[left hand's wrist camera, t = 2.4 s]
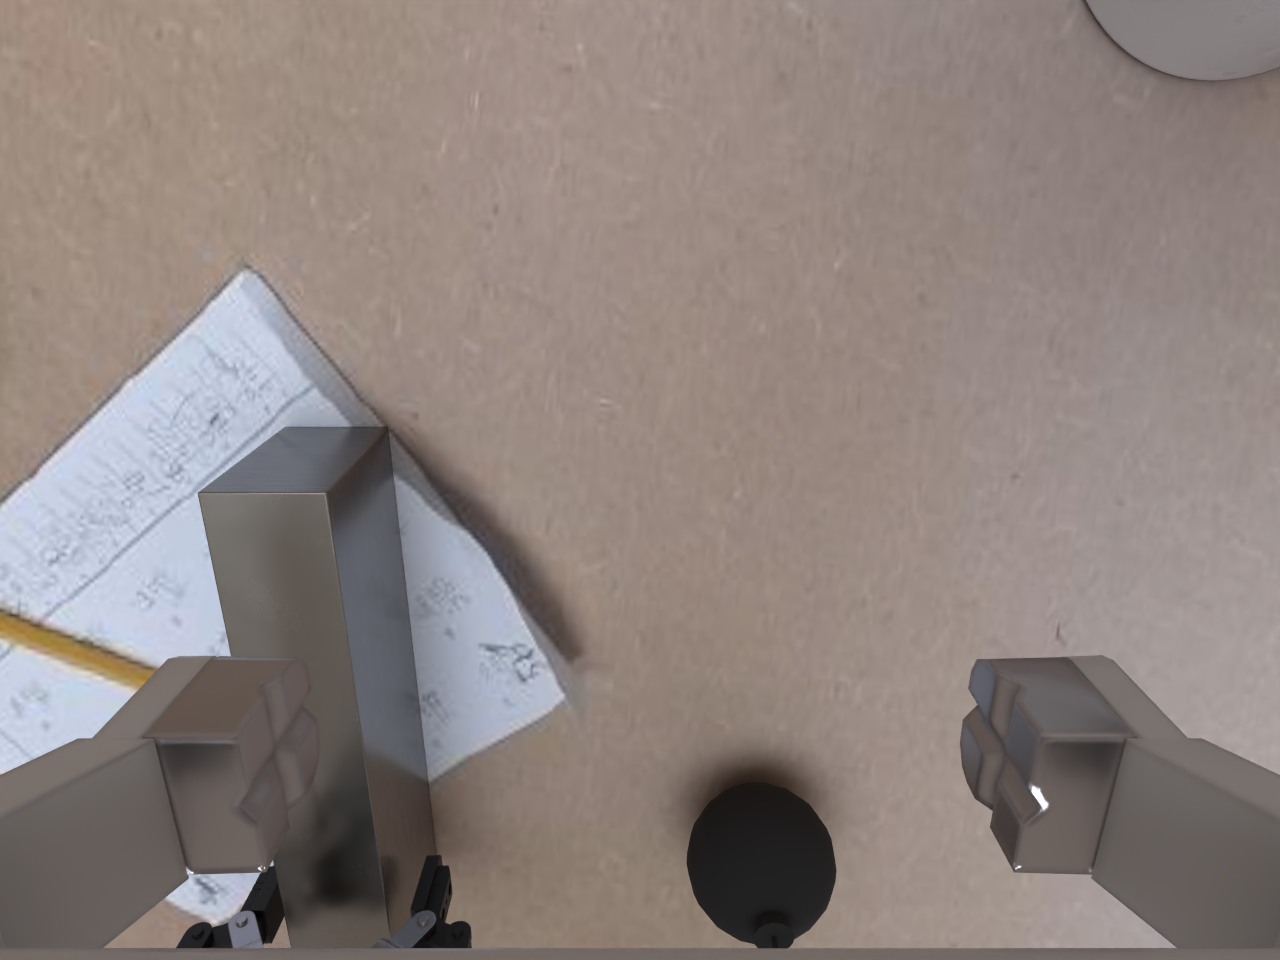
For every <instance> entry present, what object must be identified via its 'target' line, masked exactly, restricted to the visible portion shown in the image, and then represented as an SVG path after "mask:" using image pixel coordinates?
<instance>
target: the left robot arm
mask: <svg viewBox="0 0 1280 960" xmlns="http://www.w3.org/2000/svg"><path fill="white" fill-rule="evenodd" d="M1086 2H1087V4H1088V6H1089V8H1090V9H1091V11H1092V13H1093V14H1094V16H1095V17H1096V19H1097V20H1098V22H1099V23H1100V24H1101V26H1102V27H1103V29H1104V30H1105V31H1106V32H1107V33H1108V34H1109V36H1110V37H1111V38H1112V39H1113V40H1114V41H1115V42H1116V43H1117V44H1118V45H1119V46H1121V47H1122V48H1123V49H1124V50H1125V51H1126V52H1128V53H1129V54H1130V55H1132V56H1133V57H1135V58H1136V59H1138V60H1139V61H1141V62H1143V63H1144V64H1146V65H1148V66H1150V67H1152V68H1154V69H1157V70H1159V71H1162V72H1164V73H1168V74H1171V75H1174V76H1178V77H1183V78H1188V79H1195V80H1211V81H1214V80H1230V79H1238V78H1243V77H1248V76H1253V75H1256V74H1260V73H1264V72H1267V71H1270V70H1273V69H1275V68H1278V67H1280V0H1086ZM311 689H312V687H311V682H310V677H309V672H308V668H307V665H306V664H305V663H304V662H303V661H302V660H301V659H300V658H281V657H232V656H220V657H216V656H178V657H174V658H170V659H168V660H167V661H166V662H165V663H164V664H163V665H162V666H161V667H160V668H159V669H158V670H157V671H156V672H155V673H154V674H153V675H152V676H151V677H150V678H149V679H148V680H147V682H146V683H145V684H144V685H143V686H142V687H141V688H140V689H139V690H138V691H137V692H136V693H135V694H134V695H133V696H132V697H131V698H130V699H129V700H128V701H127V702H126V703H125V705H124V706H123V707H122V708H121V709H120V710H119V711H118V712H117V713H116V714H115V715H114V716H113V717H112V718H111V719H110V720H109V721H108V722H107V723H106V724H105V725H104V726H103V727H102V729H101V730H100V731H99V732H98V733H97V734H96V735H95V736H94V737H93V738H89V739H76V740H74V741H72V742H70V743H68V744H65V745H63V746H61V747H59V748H57V749H55V750H53V751H51V752H48V753H46V754H44V755H42V756H40V757H38V758H36V759H33V760H31V761H29V762H27V763H25V764H23V765H21V766H19V767H16V768H14V769H12V770H10V771H8V772H6V773H4V774H2V775H0V960H1280V775H1278V774H1276V773H1274V772H1272V771H1270V770H1268V769H1266V768H1263V767H1261V766H1259V765H1257V764H1255V763H1253V762H1251V761H1249V760H1246V759H1244V758H1242V757H1240V756H1238V755H1236V754H1234V753H1232V752H1229V751H1227V750H1225V749H1223V748H1221V747H1219V746H1217V745H1215V744H1212V743H1210V742H1208V741H1206V740H1204V739H1191V738H1187V737H1186V736H1185V735H1184V734H1183V733H1182V732H1181V731H1180V729H1179V728H1178V727H1177V726H1176V725H1175V724H1174V723H1173V722H1172V721H1171V720H1170V719H1169V718H1168V717H1167V716H1166V715H1165V714H1164V713H1163V712H1162V711H1161V710H1160V709H1159V708H1158V706H1157V705H1156V704H1155V703H1154V702H1153V701H1152V700H1151V699H1150V698H1149V697H1148V696H1147V695H1146V694H1145V693H1144V692H1143V691H1142V690H1141V689H1140V688H1139V687H1138V686H1137V685H1136V683H1135V682H1134V681H1133V680H1132V679H1131V678H1130V677H1129V676H1128V675H1127V674H1126V673H1125V672H1124V671H1123V670H1122V669H1121V668H1120V667H1119V666H1118V665H1117V664H1116V663H1115V662H1114V660H1112V659H1109V658H1107V657H1105V656H1102V655H1100V656H1072V657H1054V658H1010V659H977V660H976V662H975V664H974V666H973V668H972V671H971V676H970V681H969V687H968V689H969V691H970V692H971V694H972V696H973V697H974V699H975V701H976V702H977V704H978V705H977V706H976V707H975V708H974V709H973V710H972V711H971V712H970V713H969V714H968V715H967V716H966V717H965V718H964V719H963V723H962V731H961V739H960V749H961V760H962V767H963V771H964V774H965V777H966V781H967V784H968V786H969V788H970V790H971V792H972V794H973V795H974V797H975V799H976V800H978V801H979V802H981V803H982V804H984V805H985V806H987V807H988V808H989V809H991V810H992V811H993V813H992V819H991V825H990V828H991V830H992V832H993V834H994V836H995V837H996V839H997V841H998V843H999V845H1000V847H1001V849H1002V851H1003V852H1004V854H1005V856H1006V858H1007V860H1008V862H1009V864H1010V865H1011V867H1012V869H1013V871H1014V872H1019V873H1055V874H1091V875H1092V877H1091V878H1092V879H1093V880H1094V881H1095V882H1097V883H1098V884H1099V885H1100V886H1102V887H1103V888H1104V889H1105V890H1107V891H1108V892H1109V893H1110V894H1111V895H1113V896H1114V897H1115V898H1116V899H1118V900H1119V901H1120V902H1121V903H1123V904H1124V905H1125V906H1126V907H1127V908H1129V909H1130V910H1131V911H1132V912H1134V913H1135V914H1136V915H1137V916H1139V917H1140V918H1141V919H1142V920H1144V921H1145V922H1146V923H1147V924H1148V925H1150V926H1151V927H1152V928H1153V929H1155V930H1156V931H1157V932H1158V933H1160V934H1161V935H1162V936H1163V937H1164V938H1166V939H1167V940H1168V941H1169V942H1171V943H1172V944H1173V945H1174V946H1176V947H1177V948H103V947H105V946H106V945H107V944H108V943H110V942H111V941H112V940H113V939H115V938H116V937H117V936H118V935H119V934H121V933H122V932H123V931H124V930H126V929H127V928H128V927H129V926H131V925H132V924H133V923H134V922H136V921H137V920H138V919H139V918H140V917H142V916H143V915H144V914H145V913H147V912H148V911H149V910H150V909H152V908H153V907H154V906H155V905H157V904H158V903H159V902H160V901H161V900H163V899H164V898H165V897H166V896H168V895H169V894H170V893H171V892H173V891H174V890H175V889H176V888H178V887H179V886H180V885H181V884H182V883H184V882H185V881H186V880H187V879H188V875H189V874H224V873H259V872H266V871H267V869H268V868H269V866H270V864H271V862H272V860H273V858H274V856H275V854H276V852H277V851H278V849H279V847H280V845H281V843H282V841H283V839H284V837H285V836H286V834H287V832H288V830H289V828H290V825H289V819H288V813H287V811H288V810H289V809H291V808H292V807H294V806H295V805H296V804H298V803H299V802H301V801H302V800H304V799H305V797H306V795H307V793H308V791H309V789H310V787H311V785H312V783H313V781H314V778H315V773H316V769H317V765H318V760H319V747H320V736H319V729H318V723H317V719H316V718H315V717H314V716H313V715H312V714H311V713H310V712H309V711H308V710H307V709H306V708H305V707H304V706H303V705H302V704H303V702H304V701H305V699H306V697H307V696H308V694H309V692H310V691H311Z"/></svg>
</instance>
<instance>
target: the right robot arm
mask: <svg viewBox="0 0 1280 960" xmlns="http://www.w3.org/2000/svg"><path fill="white" fill-rule="evenodd" d="M451 897H452V885H451V876H450V870H449V866H442V858H441V855H427V856H426V859H425V862H424V866H423V869H422V872H421V875H420V879H419V882H418V885H417V889H416V892H415V895H414V899H413V902H412V905H411V908H410V912H411V919H410V920H409V921H408V922H407V923H406V924H405V925H404V926H403V927H401V928H400V929H399V930H398V931H397V932H396V933H395V934H394V935H393V936H392V937H391V938H390V939H388V940H386V939H384V938H382V939H380V940H378V941H377V942H376V943H375V944H374V945H373V946H372V947H371V948H472V946H471V938H472V936H471V927H470V925H469V924H468V923H466V922H464V921H457V922H454V923H452V924H451V925H450V924H447V923H445V921H446V917H447V913H448V908H449V905H450V901H451ZM284 916H285V915H284V910H283V905H282V900H281V896H280V891H279V886H278V881H277V876H276V871H275V866H269V868H268V869H267V871H266V872H262V873H261V874H260V875H259V877H258V879H257V881H256V884H255V885H254V886H253V888H252V890H251V892H250V894H249V896H248V898H247V900H246V902H245V903H244V905H243V907H242V909H241V911H240V912H239V913H237V914H236V915H234V916H233V917H232V918H231V919H230V921H229V922H228V923H226V924H223V925H220V926H216V927H213V928H212V926H211V925H210V924H209V923H207V922H201V923H197V924H195V925H193V926H191V927H190V928H189V929H188V930H187V931H186V932H185V934H184V936H183V937H182V939H181V941H180V942H179V944H178V946H177V947H176V948H264V947H263V944H264V943H272V941H273V939H274V937H275V935H276V933H277V931H278V929H279V926H280V924H281V922H282V920H283V918H284Z"/></svg>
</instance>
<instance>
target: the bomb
mask: <svg viewBox="0 0 1280 960" xmlns="http://www.w3.org/2000/svg"><path fill="white" fill-rule="evenodd" d="M687 867H688V873H689V877H690V881H691V885H692V889H693V893H694V895H695V897H696V899H697V902H698V904H699V905H700V906H701V908H702V909H703V910H704V911H705V913H706V914H707V915H708V916H709V918H710V919H711V920H712V921H713V922H714V924H715V925H716V926H717V927H718V928H720V929H721V930H723V931H725V932H726V933H728V934H730V935H731V936H733V937H735V938H736V939H738V940H740V941H743V942H748V943H752V944H755V945H756V946H757V948H789V947H790V946H791V945H792V943H793V941H794V939H796V938H797V937H799V936H800V935H802V934H804V933H805V932H807V931H808V930H810V929H811V927H812V926H813V925H814V924H815V923H816V921H817V920H818V919H819V918H820V916H821V915H822V914H823V913H824V912H825V910H826V909H827V906H828V904H829V901H830V898H831V895H832V891H833V888H834V884H835V879H836V864H835V858H834V852H833V846H832V841H831V837H830V835H829V833H828V830H827V828H826V827H825V825H824V824H823V823H822V821H821V820H820V818H819V817H818V816H817V814H816V813H815V811H814V810H813V809H812V807H811V806H810V805H809V804H808V803H807V802H805V801H804V800H802V799H801V798H799V797H798V796H796V795H795V794H793V793H792V792H790V791H789V790H787V789H785V788H781V787H778V786H774V785H770V784H766V783H749V784H743V785H740V786H737V787H734V788H731V789H728V790H726V791H724V792H723V793H722V794H720V795H719V796H717V797H716V798H714V799H713V800H712V801H710V802H709V804H708V805H707V806H706V808H705V809H704V811H703V812H702V814H701V815H700V816H699V818H698V819H697V821H696V822H695V824H694V826H693V829H692V832H691V837H690V842H689V847H688V852H687Z"/></svg>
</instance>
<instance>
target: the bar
mask: <svg viewBox="0 0 1280 960" xmlns="http://www.w3.org/2000/svg"><path fill="white" fill-rule="evenodd" d="M198 497H199V502H200V506H201V511H202V516H203V521H204V526H205V531H206V536H207V540H208V545H209V550H210V555H211V560H212V565H213V570H214V575H215V579H216V584H217V589H218V594H219V599H220V604H221V609H222V613H223V618H224V623H225V628H226V633H227V638H228V643H229V647H230V652H231V656H232V657H281V658H300V659H301V660H302V661H303V662H304V663H305V664H306V665H307V668H308V672H309V677H310V682H311V687H312V689H311V691H310V692H309V694H308V696H307V697H306V699H305V701H304V702H303V704H302V705H303V706H304V707H305V708H306V709H307V710H308V711H309V712H310V713H311V714H312V715H313V716H314V717H315V718H316V719H317V723H318V729H319V736H320V747H319V760H318V765H317V769H316V773H315V778H314V781H313V783H312V785H311V787H310V789H309V791H308V793H307V795H306V797H305V799H304V800H302V801H301V802H299V803H298V804H296V805H295V806H294V807H292V808H291V809H289V810H288V811H287V813H288V819H289V825H290V828H289V830H288V832H287V834H286V836H285V837H284V839H283V841H282V843H281V845H280V847H279V849H278V851H277V852H276V854H275V856H274V858H273V862H274V866H275V871H276V876H277V881H278V886H279V891H280V896H281V900H282V905H283V910H284V915H285V920H286V925H287V930H288V934H289V939H290V944H291V948H371V947H372V946H373V945H374V944H375V943H376V942H377V941H378V940H380V939H382V938H384V939H386V940H388V939H390V938H391V937H392V936H393V935H394V934H395V933H396V932H397V931H398V930H399V929H400V928H401V927H403V926H404V925H405V924H406V923H407V922H408V921H409V920H410V919H411V912H410V908H411V905H412V902H413V899H414V895H415V892H416V889H417V885H418V882H419V879H420V875H421V872H422V869H423V866H424V862H425V859H426V856H427V855H436V848H435V839H434V830H433V822H432V813H431V804H430V795H429V787H428V778H427V769H426V760H425V752H424V743H423V734H422V725H421V717H420V708H419V699H418V690H417V682H416V673H415V664H414V655H413V647H412V638H411V629H410V620H409V612H408V603H407V594H406V585H405V576H404V568H403V559H402V550H401V541H400V533H399V524H398V515H397V506H396V498H395V489H394V480H393V471H392V463H391V454H390V445H389V436H388V428H387V427H284V428H283V429H282V430H280V431H279V432H278V433H276V434H275V435H274V436H272V437H271V438H270V439H268V440H267V441H266V442H264V443H263V444H262V445H260V446H259V447H258V448H256V449H255V450H254V451H252V452H251V453H250V454H248V455H247V456H246V457H244V458H243V459H242V460H241V461H239V462H238V463H237V464H235V465H234V466H233V467H231V468H230V469H229V470H227V471H226V472H225V473H223V474H222V475H221V476H219V477H218V478H217V479H215V480H214V481H213V482H211V483H210V484H209V485H207V486H206V487H205V488H203V489H202V490H201V491H199V492H198Z"/></svg>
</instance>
